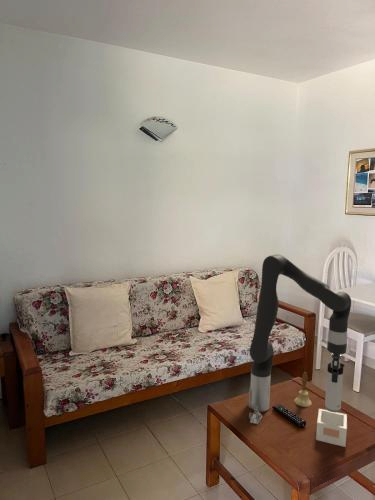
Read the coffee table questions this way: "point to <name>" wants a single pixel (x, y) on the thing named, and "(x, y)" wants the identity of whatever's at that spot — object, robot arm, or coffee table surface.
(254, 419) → the house of cards
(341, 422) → the socket
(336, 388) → the travel mug
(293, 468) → the coffee table surface
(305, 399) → the hand bell
